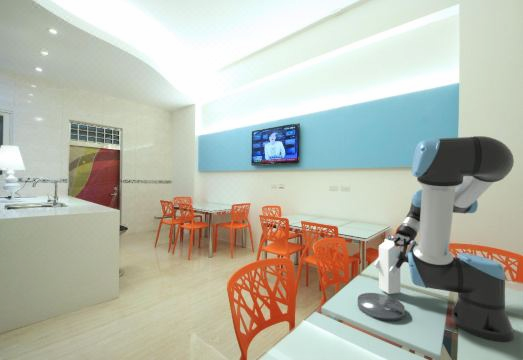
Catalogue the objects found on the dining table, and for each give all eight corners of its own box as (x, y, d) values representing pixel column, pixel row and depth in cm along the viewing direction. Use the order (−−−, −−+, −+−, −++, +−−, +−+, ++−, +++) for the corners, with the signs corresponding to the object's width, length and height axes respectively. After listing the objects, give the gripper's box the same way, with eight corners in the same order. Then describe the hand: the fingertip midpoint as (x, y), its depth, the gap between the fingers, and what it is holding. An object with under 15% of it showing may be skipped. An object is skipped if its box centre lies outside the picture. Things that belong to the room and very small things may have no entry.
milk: (388, 294, 100) (388, 242, 100) (378, 287, 106) (378, 238, 106) (400, 292, 101) (400, 241, 101) (390, 286, 107) (390, 238, 107)
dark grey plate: (414, 315, 86) (414, 308, 86) (383, 325, 80) (383, 318, 80) (377, 296, 101) (377, 290, 101) (348, 303, 94) (348, 297, 94)
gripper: (435, 239, 101) (409, 283, 94) (393, 230, 119) (369, 267, 112) (427, 227, 99) (400, 272, 92) (385, 220, 117) (361, 257, 110)
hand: (383, 269), depth 102 cm, fingers closed on milk, 7 cm apart
